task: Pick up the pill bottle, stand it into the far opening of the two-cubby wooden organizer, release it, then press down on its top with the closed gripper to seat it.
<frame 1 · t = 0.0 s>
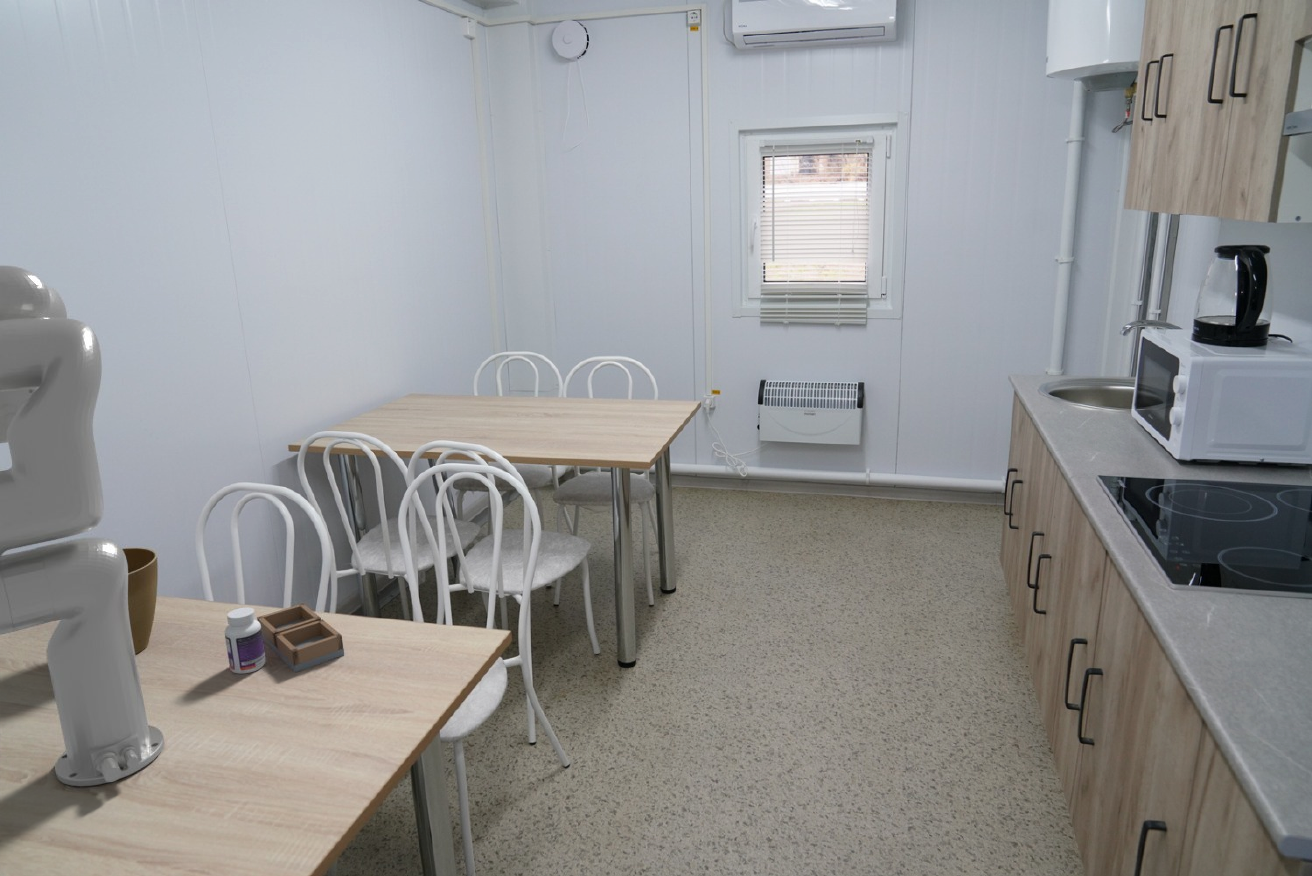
hand: (19, 472, 139), 31 cm above the table, tool pointing down, fingers open, 9 cm apart
pill bottle: (248, 667, 139), on the table
two-cubby wooden organizer: (300, 645, 146), on the table
plant pot: (122, 650, 145), on the table
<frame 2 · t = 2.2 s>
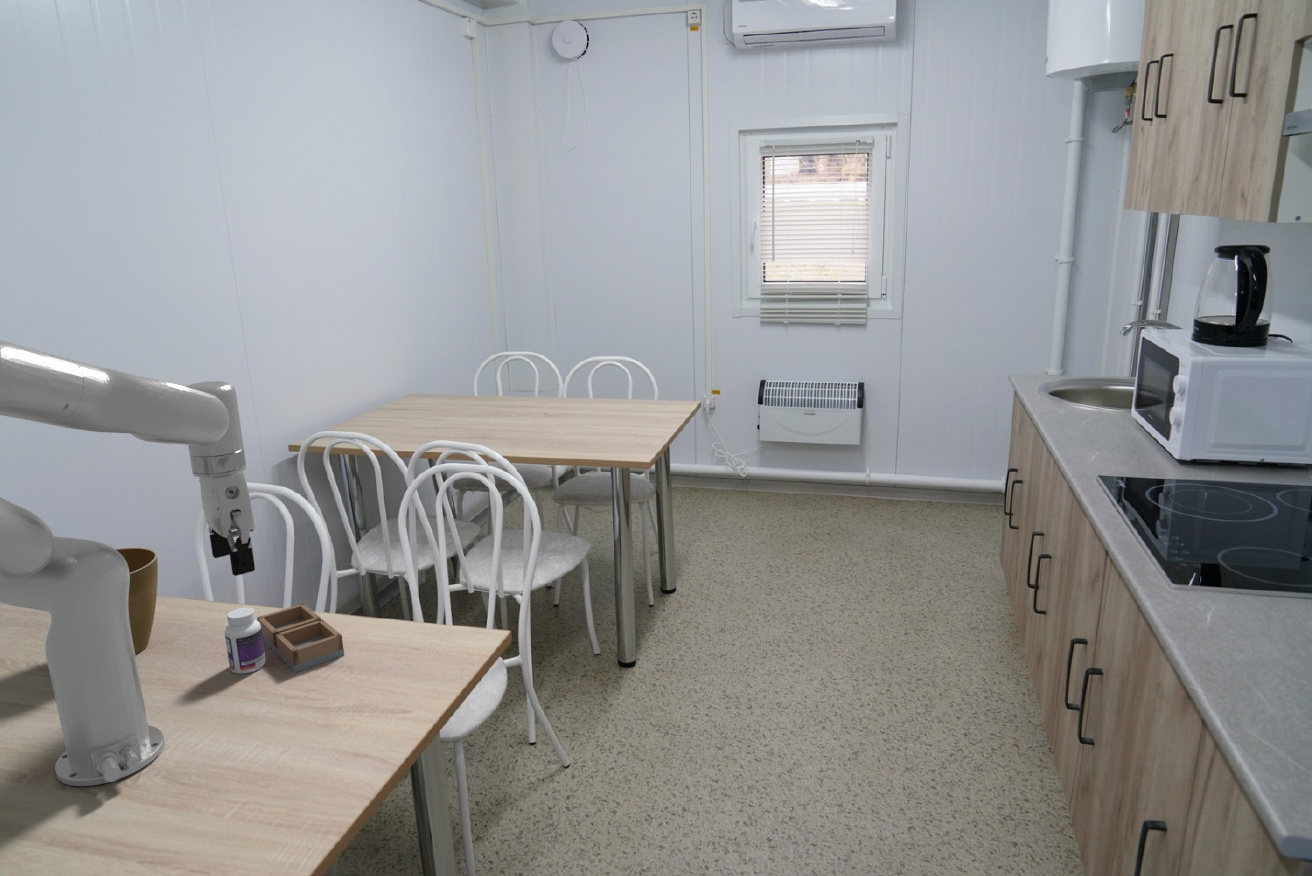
hand: (233, 563, 135), 18 cm above the table, tool pointing down, fingers open, 9 cm apart
nothing on the table moved.
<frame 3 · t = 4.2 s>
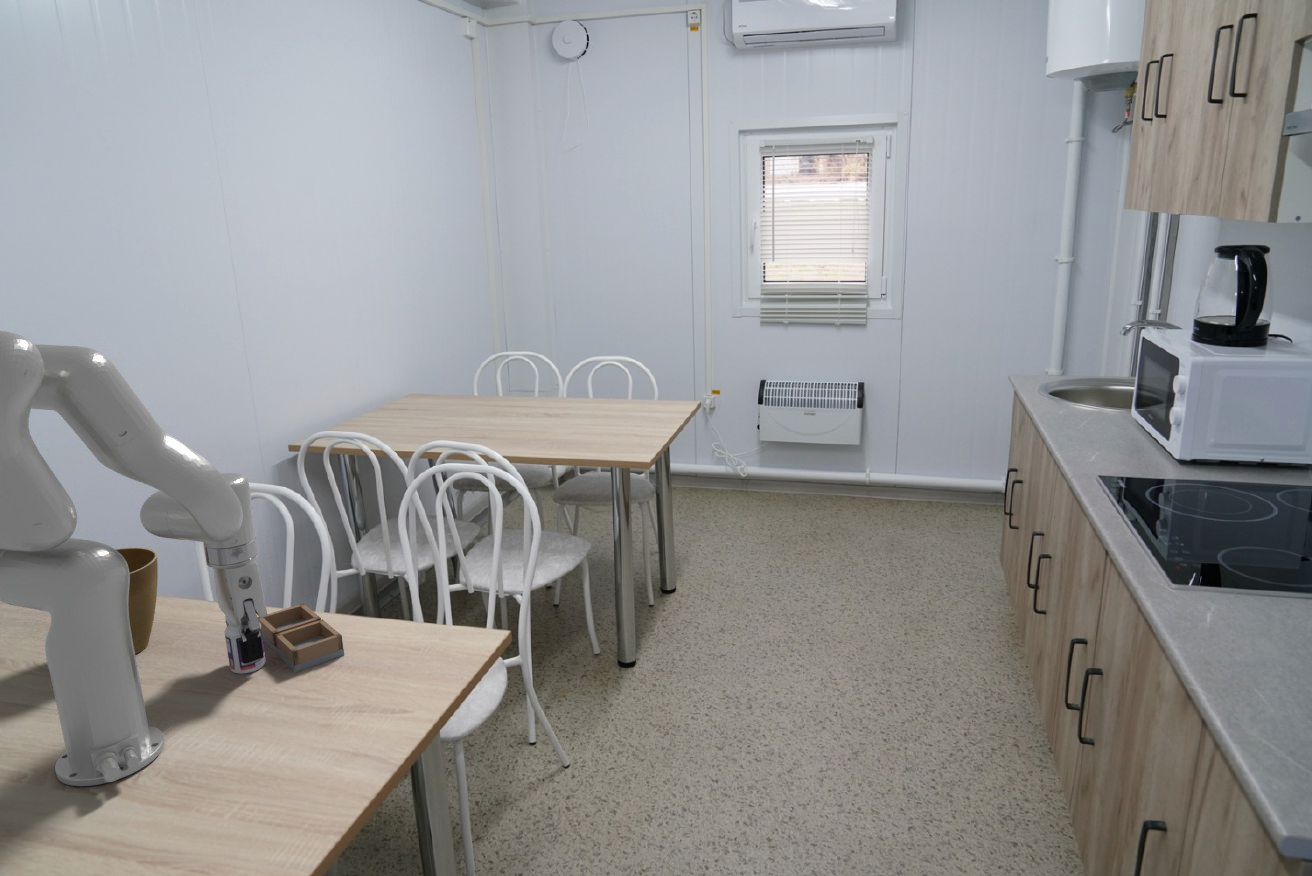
hand: (246, 652, 138), 3 cm above the table, tool pointing down, fingers closed on pill bottle, 5 cm apart
pill bottle: (248, 667, 139), on the table, touching gripper
everything else where it was.
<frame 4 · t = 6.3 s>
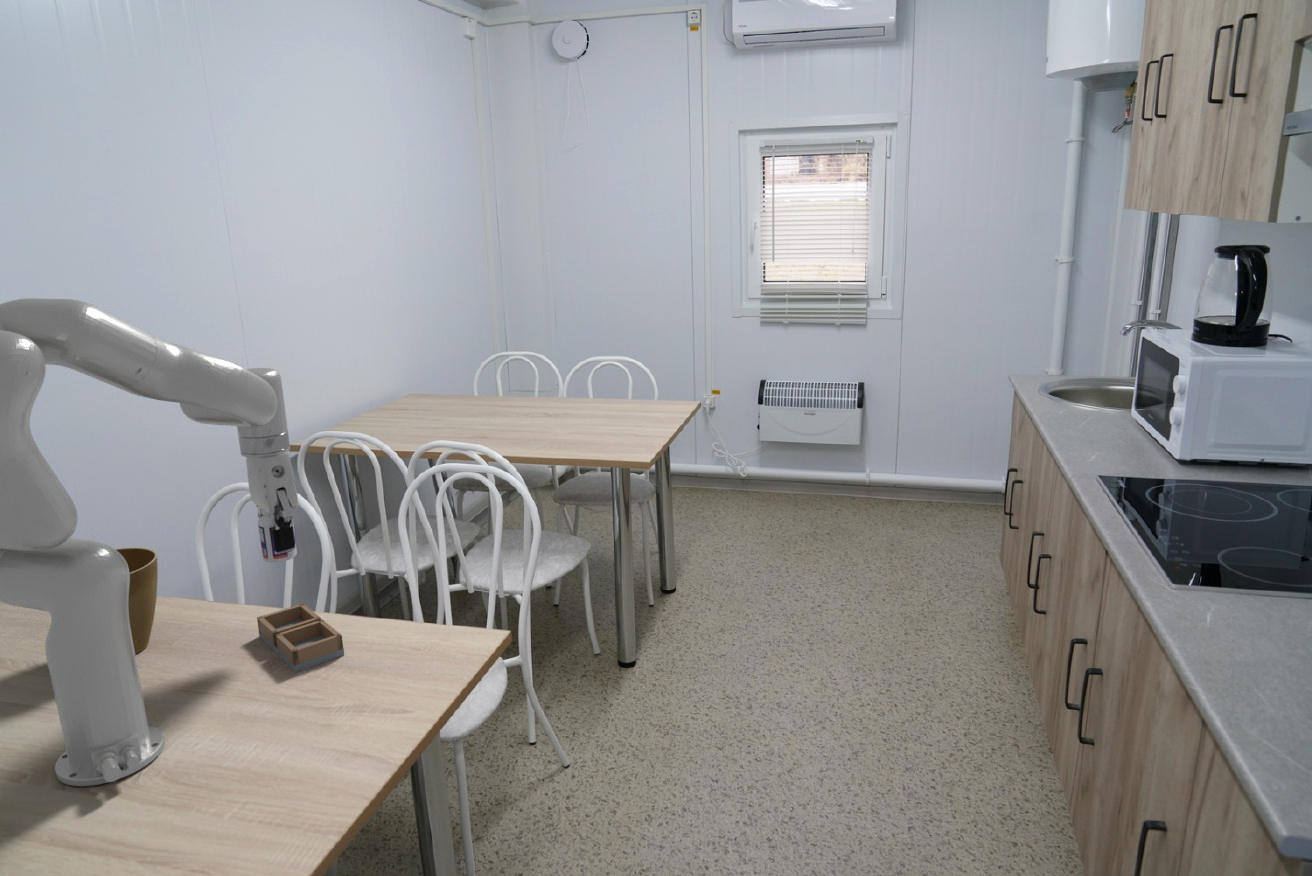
hand: (278, 543, 144), 18 cm above the table, tool pointing down, fingers closed on pill bottle, 5 cm apart
pill bottle: (280, 558, 145), point 15 cm above the table, touching gripper
everything else where it was.
when the fingers open (5 cm above the table, at t = 8.6 s): pill bottle drops 2 cm, resting on two-cubby wooden organizer.
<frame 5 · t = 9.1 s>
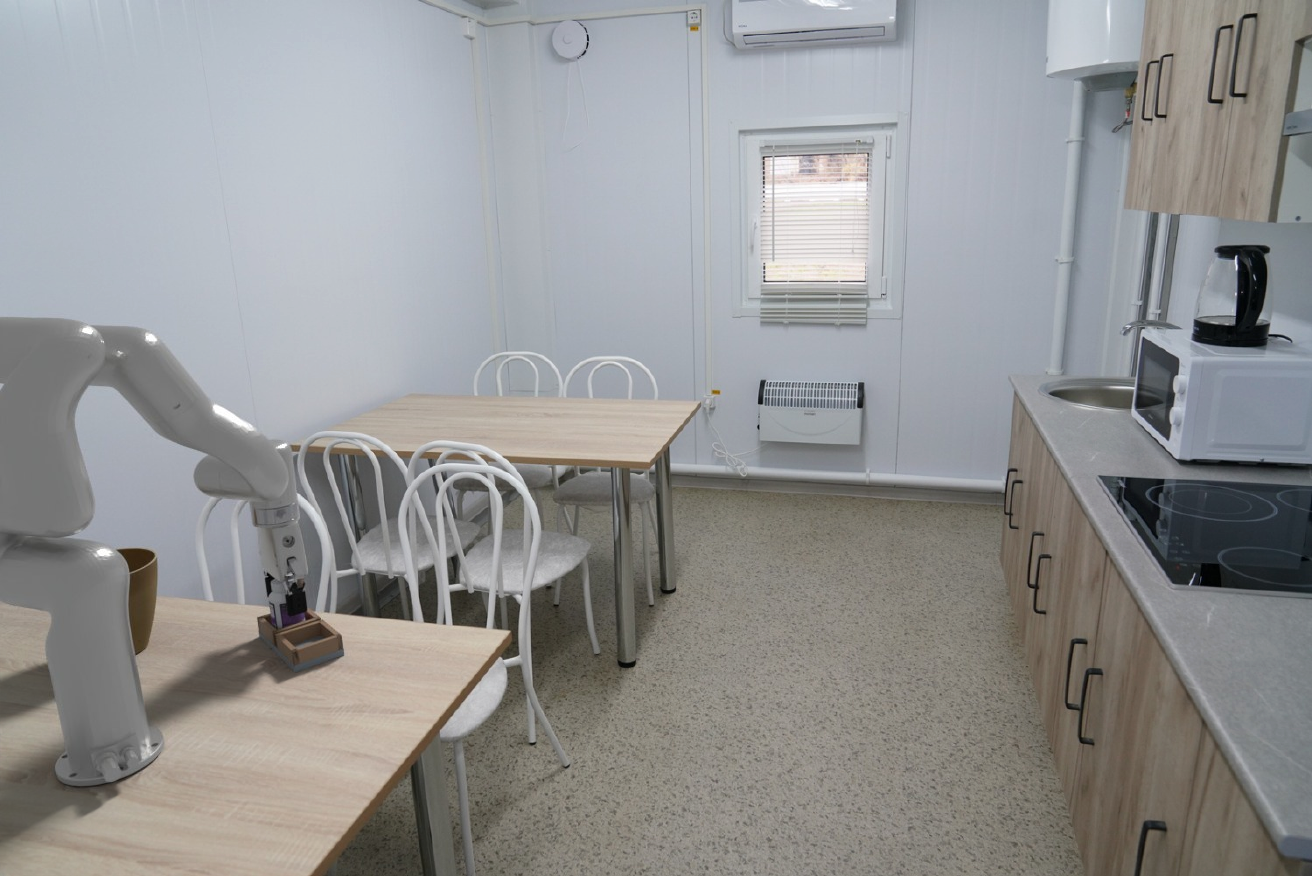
hand: (287, 604, 147), 6 cm above the table, tool pointing down, fingers open, 9 cm apart
pill bottle: (290, 631, 148), point 1 cm above the table, touching two-cubby wooden organizer
everything else where it was.
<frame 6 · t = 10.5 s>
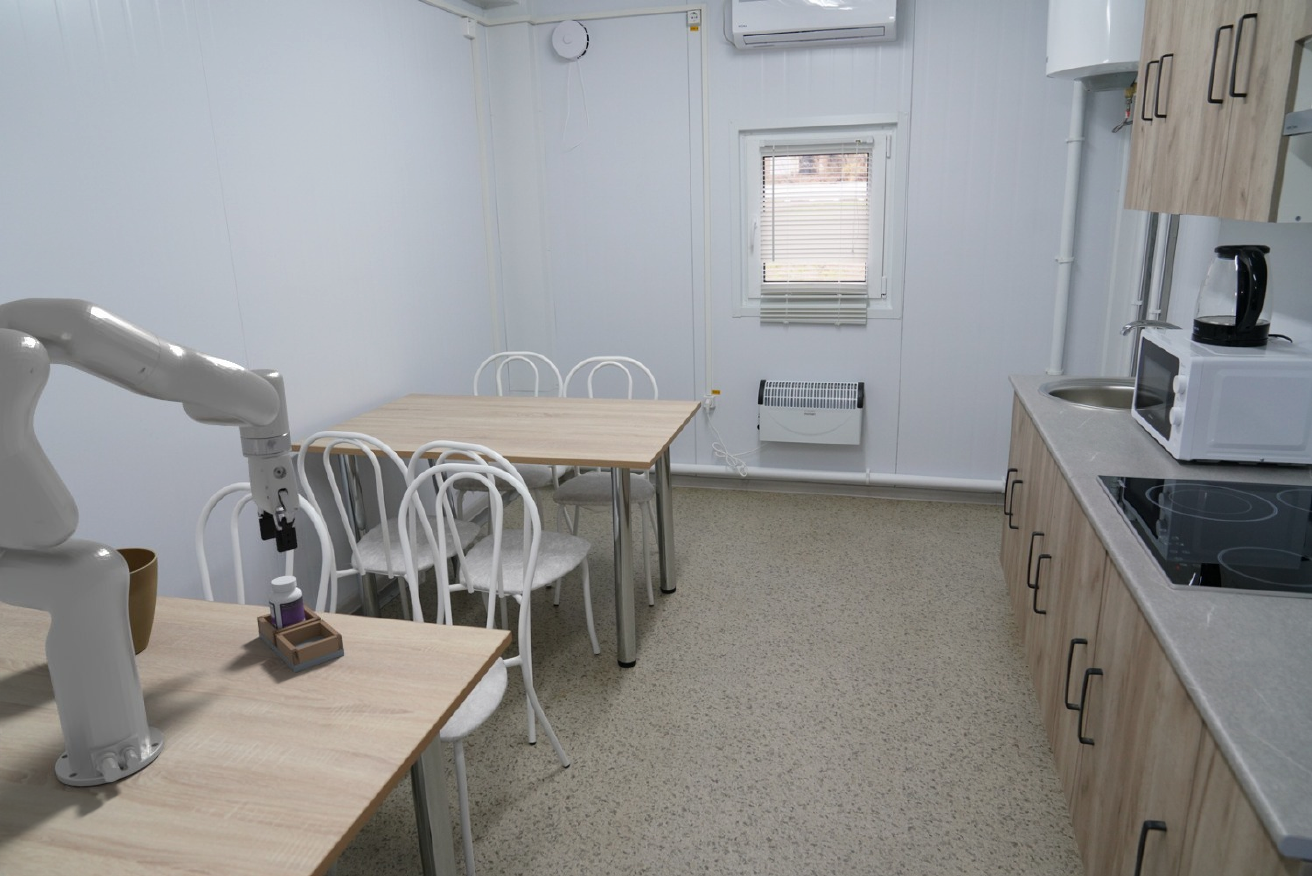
hand: (279, 543, 144), 18 cm above the table, tool pointing down, fingers open, 6 cm apart
nothing on the table moved.
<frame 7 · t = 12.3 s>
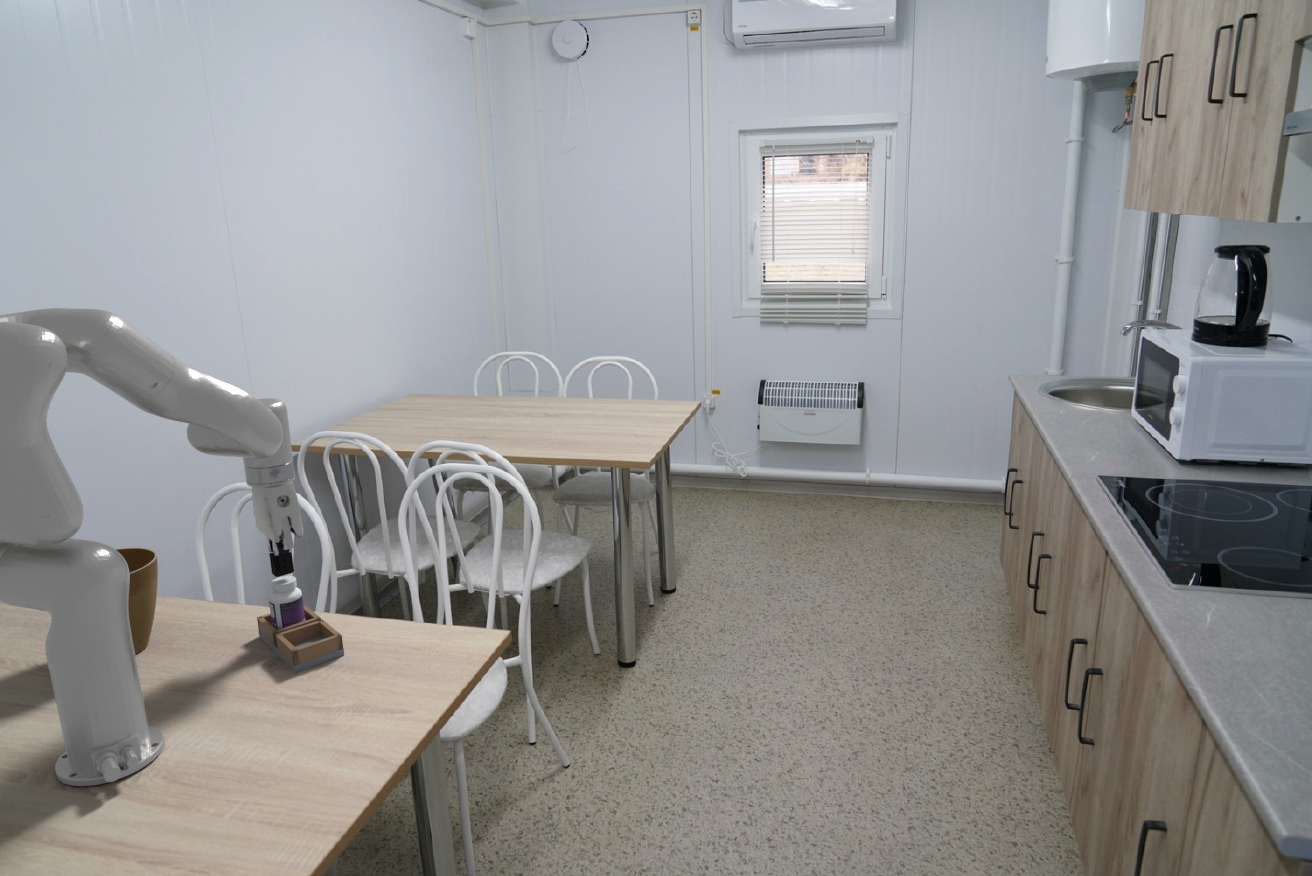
hand: (283, 573, 146), 12 cm above the table, tool pointing down, fingers closed
nothing on the table moved.
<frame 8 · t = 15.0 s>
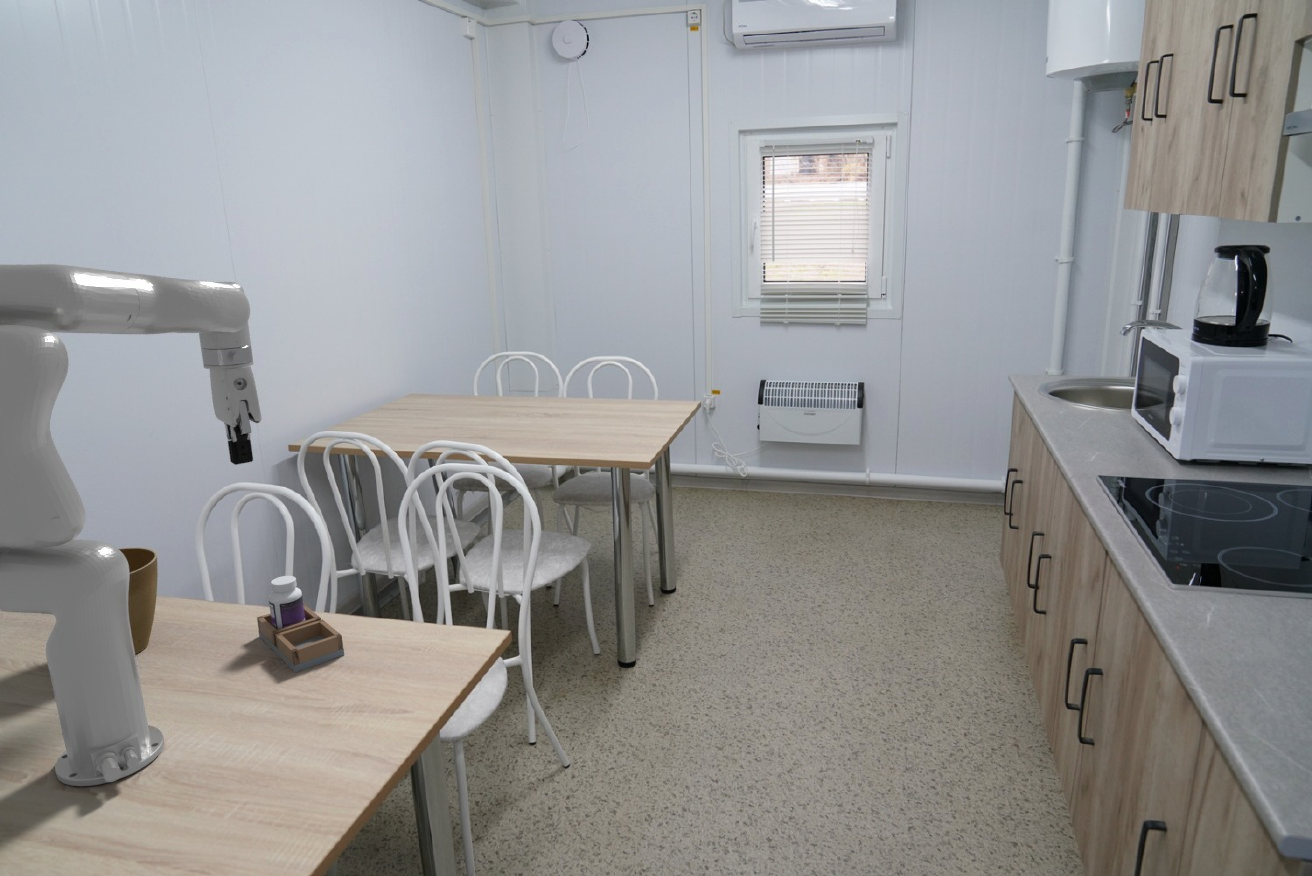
hand: (242, 462, 145), 31 cm above the table, tool pointing down, fingers closed
nothing on the table moved.
at the end: pill bottle 0.1 cm from the target spot on the two-cubby wooden organizer, point 1.0 cm above the two-cubby wooden organizer's base; pill bottle tilted 0°; the gripper is holding nothing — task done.
